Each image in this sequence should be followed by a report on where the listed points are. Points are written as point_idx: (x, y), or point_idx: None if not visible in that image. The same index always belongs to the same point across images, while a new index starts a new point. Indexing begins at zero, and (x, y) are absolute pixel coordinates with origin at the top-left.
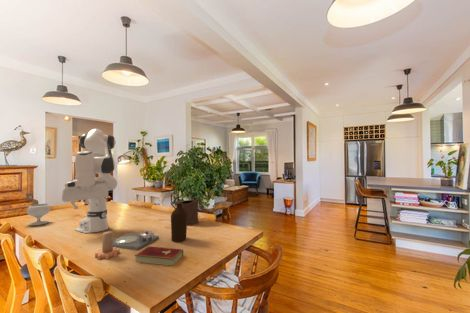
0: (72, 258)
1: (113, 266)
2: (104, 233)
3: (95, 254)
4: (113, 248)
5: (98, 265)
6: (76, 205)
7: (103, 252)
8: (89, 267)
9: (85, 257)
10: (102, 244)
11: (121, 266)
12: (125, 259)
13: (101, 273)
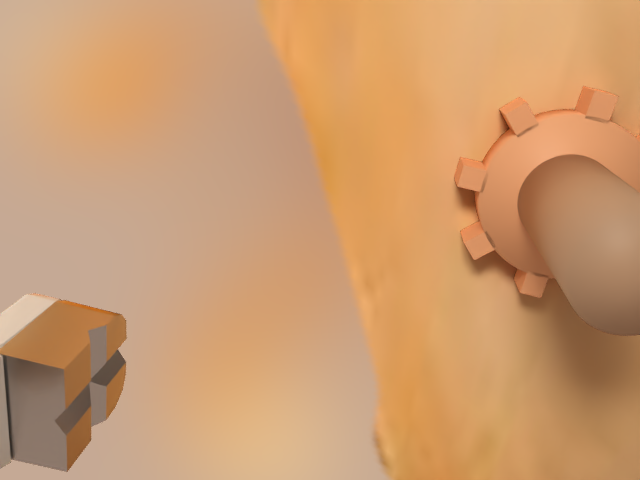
0: (291, 60)
1: (517, 433)
2: (588, 276)
3: (459, 185)
4: (638, 164)
5: (439, 351)
6: (33, 416)
7: (522, 222)
8: (382, 341)
9: (387, 116)
10: (534, 227)
11: (559, 468)
12: (632, 383)
13: (427, 473)
